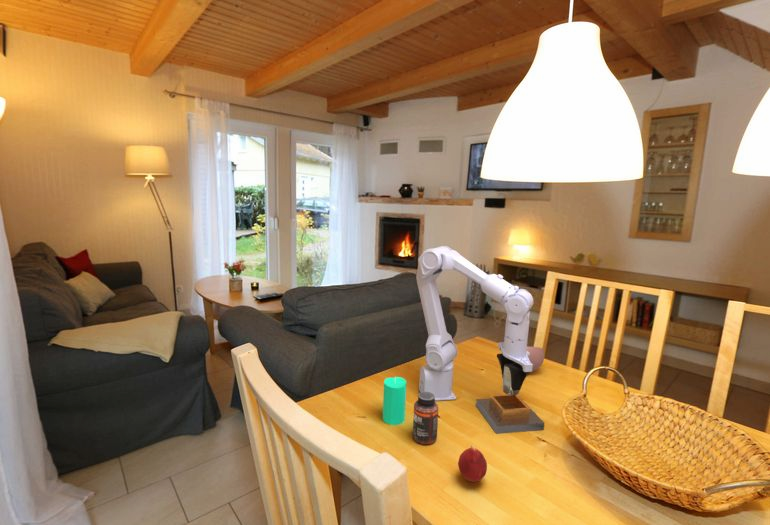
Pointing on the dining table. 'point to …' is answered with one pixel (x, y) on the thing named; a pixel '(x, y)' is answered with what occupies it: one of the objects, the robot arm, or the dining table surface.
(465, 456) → the onion
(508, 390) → the spout can
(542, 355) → the mortar and pestle
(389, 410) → the candle
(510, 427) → the wooden socket on base
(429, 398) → the supplement bottle
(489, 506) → the dining table surface
